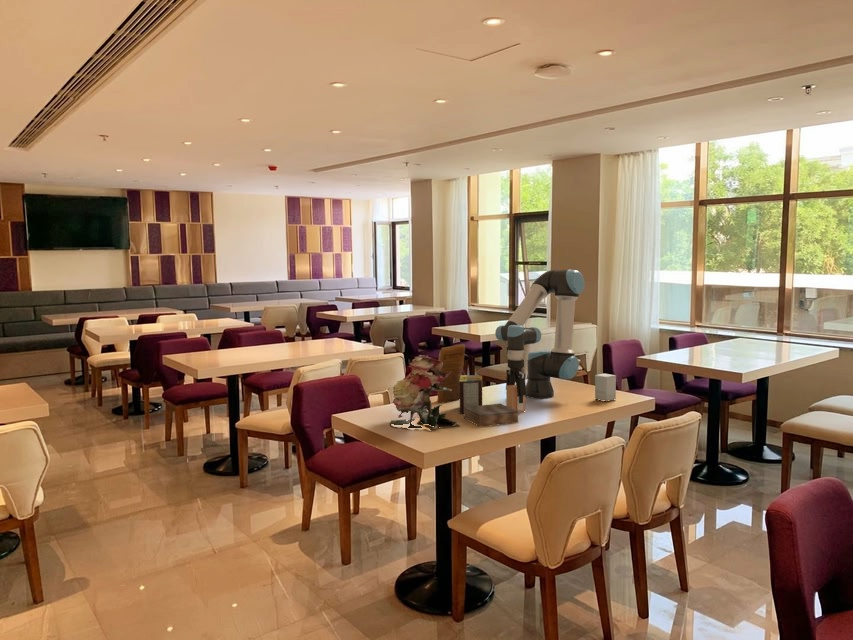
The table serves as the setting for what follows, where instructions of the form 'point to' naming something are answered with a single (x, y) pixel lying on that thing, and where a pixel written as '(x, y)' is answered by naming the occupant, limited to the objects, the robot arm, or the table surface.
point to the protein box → (470, 391)
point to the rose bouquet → (421, 392)
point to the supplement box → (605, 387)
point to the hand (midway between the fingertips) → (515, 408)
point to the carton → (513, 398)
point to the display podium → (490, 414)
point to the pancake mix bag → (454, 364)
